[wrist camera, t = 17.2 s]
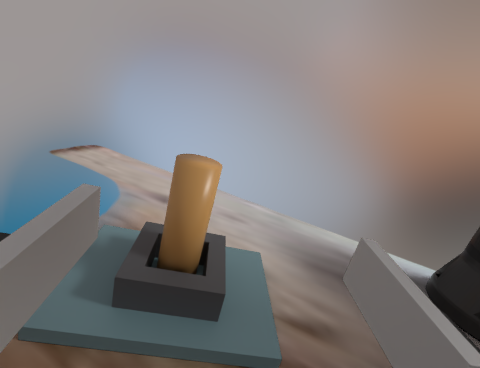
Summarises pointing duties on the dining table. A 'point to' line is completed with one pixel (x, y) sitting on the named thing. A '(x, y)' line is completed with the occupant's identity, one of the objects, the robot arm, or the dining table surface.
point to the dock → (155, 331)
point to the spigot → (188, 212)
